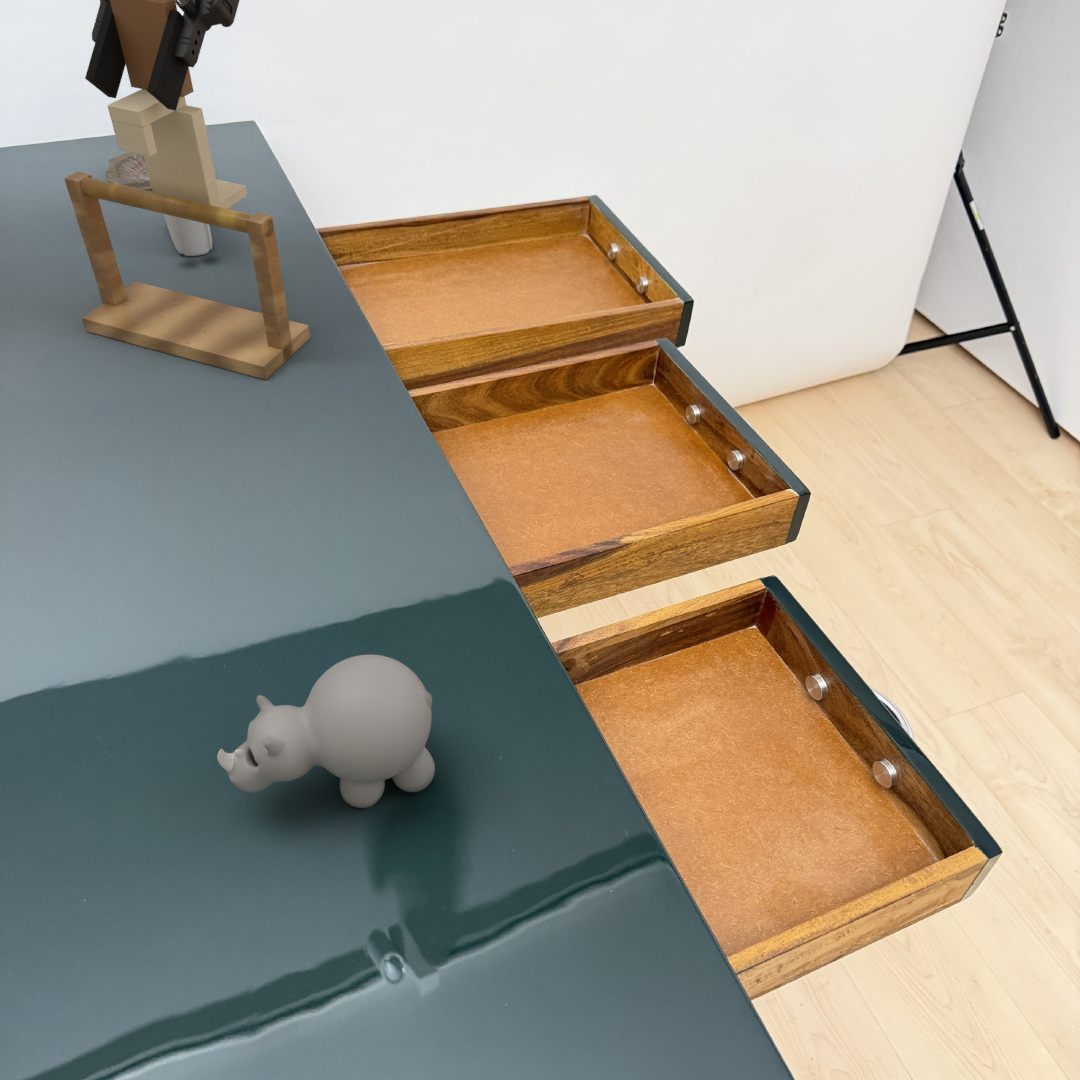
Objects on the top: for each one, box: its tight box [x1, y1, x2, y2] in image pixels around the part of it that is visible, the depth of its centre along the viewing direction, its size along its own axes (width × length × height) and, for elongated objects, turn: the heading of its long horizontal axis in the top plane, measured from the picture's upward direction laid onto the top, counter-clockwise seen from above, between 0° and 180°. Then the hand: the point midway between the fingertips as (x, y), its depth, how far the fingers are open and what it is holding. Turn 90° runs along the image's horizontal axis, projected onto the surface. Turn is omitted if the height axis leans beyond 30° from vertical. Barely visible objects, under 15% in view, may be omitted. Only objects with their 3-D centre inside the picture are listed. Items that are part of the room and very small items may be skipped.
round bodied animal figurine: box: [216, 653, 436, 809], centre depth 51 cm, size 7×12×8 cm, turn 109°
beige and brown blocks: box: [106, 0, 248, 209], centre depth 75 cm, size 6×10×17 cm, turn 160°
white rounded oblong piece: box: [163, 214, 213, 257], centre depth 98 cm, size 10×4×12 cm, turn 25°
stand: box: [64, 170, 311, 381], centre depth 83 cm, size 20×8×14 cm, turn 70°
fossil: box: [105, 151, 153, 192], centre depth 110 cm, size 10×12×3 cm
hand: (131, 94), depth 71 cm, fingers closed on beige and brown blocks, 5 cm apart
